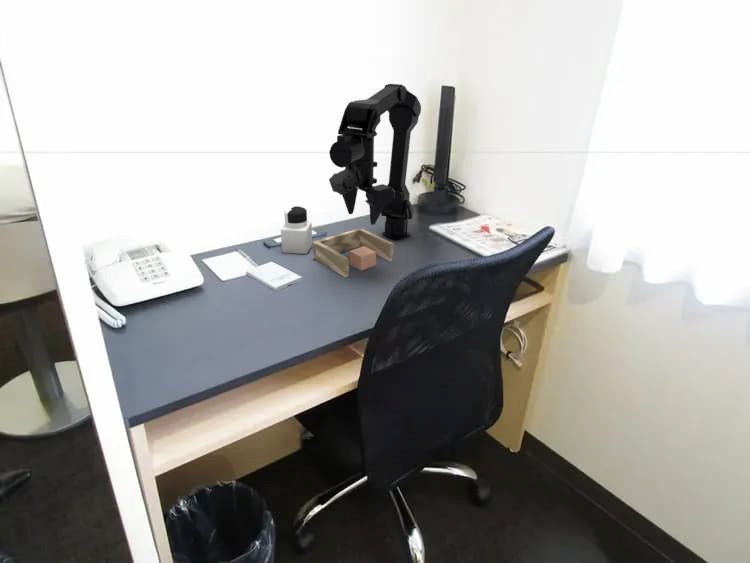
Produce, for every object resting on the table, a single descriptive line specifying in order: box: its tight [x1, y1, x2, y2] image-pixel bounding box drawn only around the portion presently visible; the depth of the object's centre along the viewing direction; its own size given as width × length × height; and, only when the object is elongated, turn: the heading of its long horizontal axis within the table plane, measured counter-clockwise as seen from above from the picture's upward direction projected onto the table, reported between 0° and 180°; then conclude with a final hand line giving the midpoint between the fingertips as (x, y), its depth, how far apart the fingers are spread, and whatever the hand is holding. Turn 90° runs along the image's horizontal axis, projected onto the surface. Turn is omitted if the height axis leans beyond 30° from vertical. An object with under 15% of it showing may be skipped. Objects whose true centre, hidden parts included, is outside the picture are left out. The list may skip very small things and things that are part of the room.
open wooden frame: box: [312, 227, 394, 278], centre depth 130 cm, size 16×14×5 cm
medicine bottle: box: [280, 205, 313, 255], centre depth 134 cm, size 7×7×12 cm
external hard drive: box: [246, 261, 303, 292], centre depth 121 cm, size 2×8×12 cm
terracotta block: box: [348, 246, 377, 271], centre depth 128 cm, size 5×5×4 cm
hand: (361, 219), depth 123 cm, fingers open, 9 cm apart
